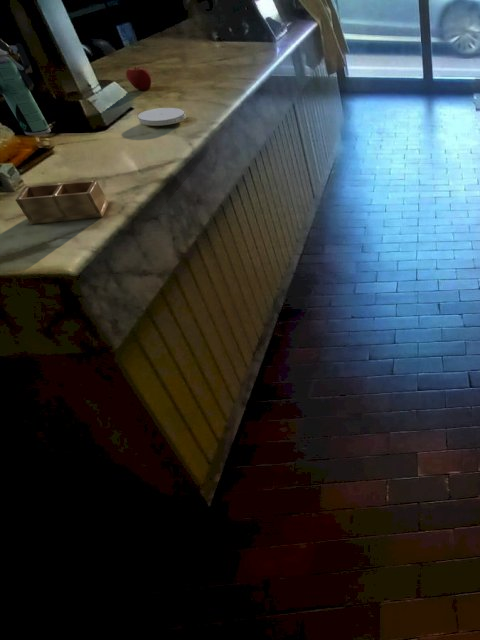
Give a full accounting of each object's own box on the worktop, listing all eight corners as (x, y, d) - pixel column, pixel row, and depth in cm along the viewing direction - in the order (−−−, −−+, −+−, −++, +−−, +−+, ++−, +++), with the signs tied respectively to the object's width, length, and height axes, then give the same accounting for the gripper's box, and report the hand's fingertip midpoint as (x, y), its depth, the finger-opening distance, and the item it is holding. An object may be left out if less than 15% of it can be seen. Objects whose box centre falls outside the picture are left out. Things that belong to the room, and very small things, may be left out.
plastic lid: (168, 130, 169) (165, 122, 167) (131, 126, 171) (127, 118, 169) (196, 118, 179) (193, 110, 177) (160, 113, 181) (157, 106, 179)
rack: (31, 224, 121) (14, 199, 117) (40, 209, 127) (25, 186, 122) (102, 216, 125) (89, 193, 121) (108, 203, 131) (96, 180, 126)
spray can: (46, 127, 136) (-3, 37, 122) (54, 132, 133) (5, 42, 119) (21, 131, 132) (-32, 40, 119) (29, 137, 130) (-24, 45, 116)
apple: (129, 88, 200) (120, 65, 195) (151, 85, 204) (142, 62, 199) (136, 93, 196) (126, 69, 191) (158, 89, 201) (149, 67, 195)
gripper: (-76, 14, 115) (-25, 85, 118) (2, 8, 123) (47, 75, 126) (-65, 37, 121) (-16, 105, 124) (9, 31, 129) (52, 94, 132)
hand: (16, 89), depth 125 cm, fingers closed on spray can, 5 cm apart
